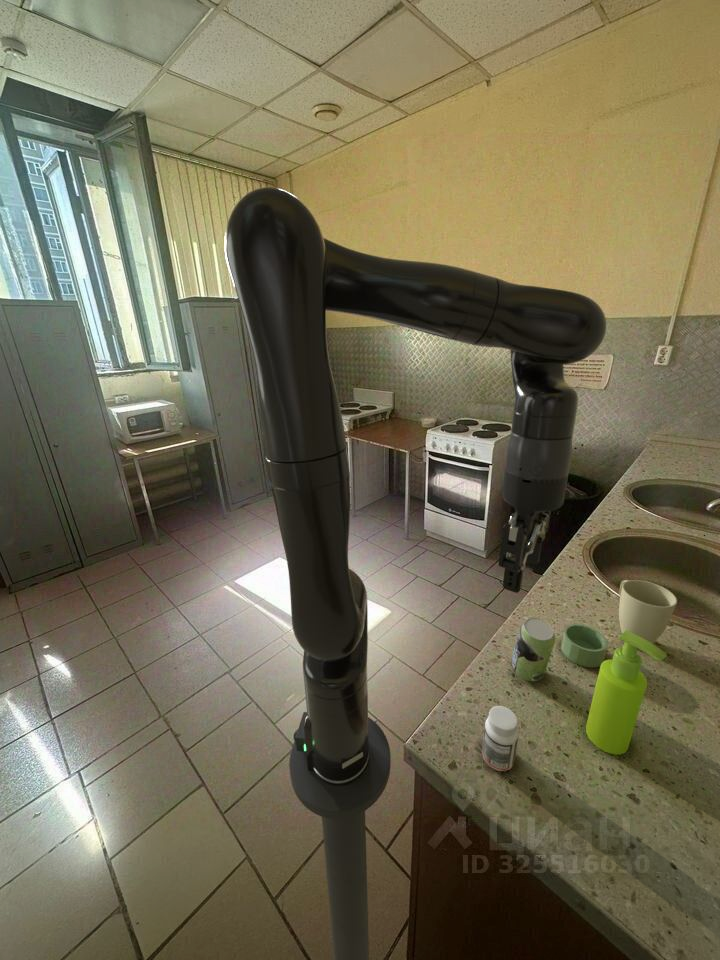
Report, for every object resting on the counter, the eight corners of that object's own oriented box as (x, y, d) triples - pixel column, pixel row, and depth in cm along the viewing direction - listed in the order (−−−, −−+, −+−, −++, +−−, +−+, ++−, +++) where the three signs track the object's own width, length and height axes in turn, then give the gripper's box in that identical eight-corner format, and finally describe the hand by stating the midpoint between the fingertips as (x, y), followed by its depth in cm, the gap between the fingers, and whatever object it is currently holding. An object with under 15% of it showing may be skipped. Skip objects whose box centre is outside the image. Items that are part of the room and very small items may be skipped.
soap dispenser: (623, 768, 59) (654, 664, 52) (578, 731, 64) (601, 633, 57) (642, 747, 62) (675, 646, 55) (598, 713, 67) (622, 618, 60)
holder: (568, 665, 77) (571, 649, 76) (556, 637, 84) (559, 622, 83) (610, 669, 76) (614, 653, 74) (594, 641, 83) (598, 625, 81)
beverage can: (532, 657, 79) (540, 608, 75) (555, 687, 72) (565, 635, 68) (503, 661, 78) (509, 612, 74) (523, 692, 71) (532, 640, 67)
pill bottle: (496, 736, 64) (501, 697, 61) (520, 761, 60) (527, 721, 57) (475, 751, 61) (479, 712, 59) (499, 778, 58) (505, 738, 55)
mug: (671, 642, 82) (686, 594, 78) (651, 664, 77) (666, 613, 73) (615, 614, 91) (626, 569, 86) (593, 632, 85) (603, 585, 81)
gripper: (523, 450, 58) (511, 547, 64) (486, 477, 48) (476, 590, 53) (580, 458, 54) (561, 561, 59) (553, 490, 43) (534, 611, 49)
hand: (521, 575), depth 56 cm, fingers open, 8 cm apart
